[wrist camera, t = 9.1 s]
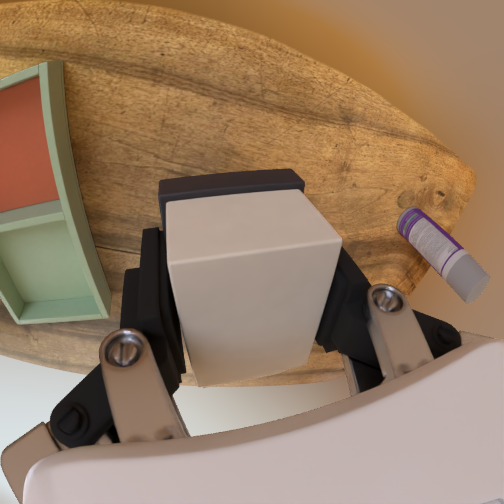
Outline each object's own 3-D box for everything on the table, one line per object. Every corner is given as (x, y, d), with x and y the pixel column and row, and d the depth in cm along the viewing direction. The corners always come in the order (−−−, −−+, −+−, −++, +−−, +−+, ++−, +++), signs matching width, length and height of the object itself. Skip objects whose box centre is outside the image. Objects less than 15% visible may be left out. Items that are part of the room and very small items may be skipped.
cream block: (158, 179, 9) (155, 257, 6) (291, 167, 10) (353, 231, 6) (189, 347, 14) (202, 418, 11) (273, 333, 15) (298, 398, 12)
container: (423, 218, 38) (490, 283, 26) (402, 239, 39) (466, 309, 28) (414, 200, 35) (490, 268, 24) (392, 222, 36) (463, 297, 25)
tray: (24, 304, 29) (17, 324, 26) (-44, 105, 13) (-64, 115, 10) (112, 295, 32) (109, 318, 29) (63, 60, 16) (47, 61, 13)
